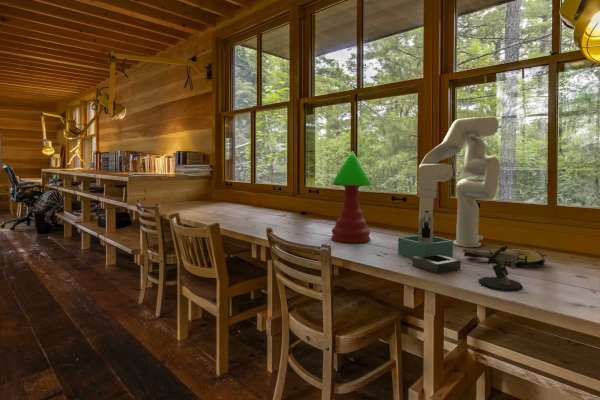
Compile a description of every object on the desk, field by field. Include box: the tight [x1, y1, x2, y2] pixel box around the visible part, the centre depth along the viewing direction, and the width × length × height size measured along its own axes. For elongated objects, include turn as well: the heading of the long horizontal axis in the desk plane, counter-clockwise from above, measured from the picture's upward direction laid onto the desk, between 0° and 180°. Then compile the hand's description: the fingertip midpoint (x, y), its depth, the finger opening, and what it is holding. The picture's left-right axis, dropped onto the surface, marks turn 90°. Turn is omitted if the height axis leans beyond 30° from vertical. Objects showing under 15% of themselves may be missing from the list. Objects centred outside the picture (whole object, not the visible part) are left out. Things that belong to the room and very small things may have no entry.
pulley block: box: [463, 248, 550, 270], centre depth 153 cm, size 14×6×30 cm
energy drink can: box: [417, 215, 435, 244], centre depth 163 cm, size 6×6×15 cm
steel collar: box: [412, 254, 462, 275], centre depth 145 cm, size 12×12×4 cm
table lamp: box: [330, 150, 372, 244], centre depth 195 cm, size 20×20×45 cm
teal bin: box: [397, 234, 454, 259], centre depth 164 cm, size 16×16×7 cm
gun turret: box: [462, 245, 527, 293], centre depth 126 cm, size 13×20×13 cm, turn 41°
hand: (425, 235), depth 164 cm, fingers closed on energy drink can, 6 cm apart
